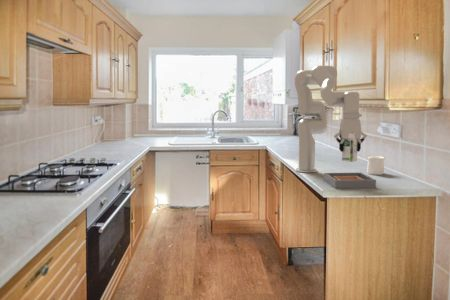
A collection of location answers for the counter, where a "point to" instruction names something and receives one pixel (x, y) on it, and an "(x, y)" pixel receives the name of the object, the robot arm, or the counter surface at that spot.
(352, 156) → the syrup box
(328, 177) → the walled box
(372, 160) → the cup
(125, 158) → the counter surface
